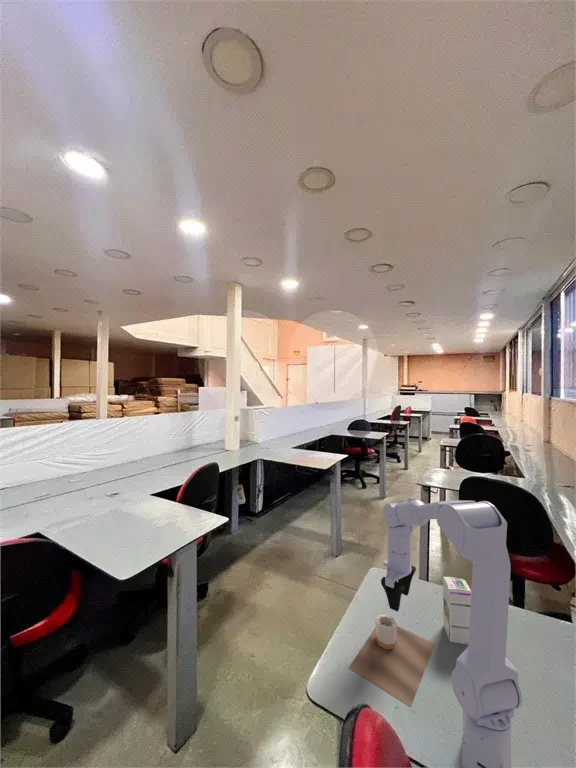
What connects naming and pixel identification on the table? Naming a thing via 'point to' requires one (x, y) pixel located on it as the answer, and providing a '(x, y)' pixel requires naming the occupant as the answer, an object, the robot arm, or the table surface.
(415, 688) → the pin board
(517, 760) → the table surface
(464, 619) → the syrup box
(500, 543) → the robot arm
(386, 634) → the sleeve
